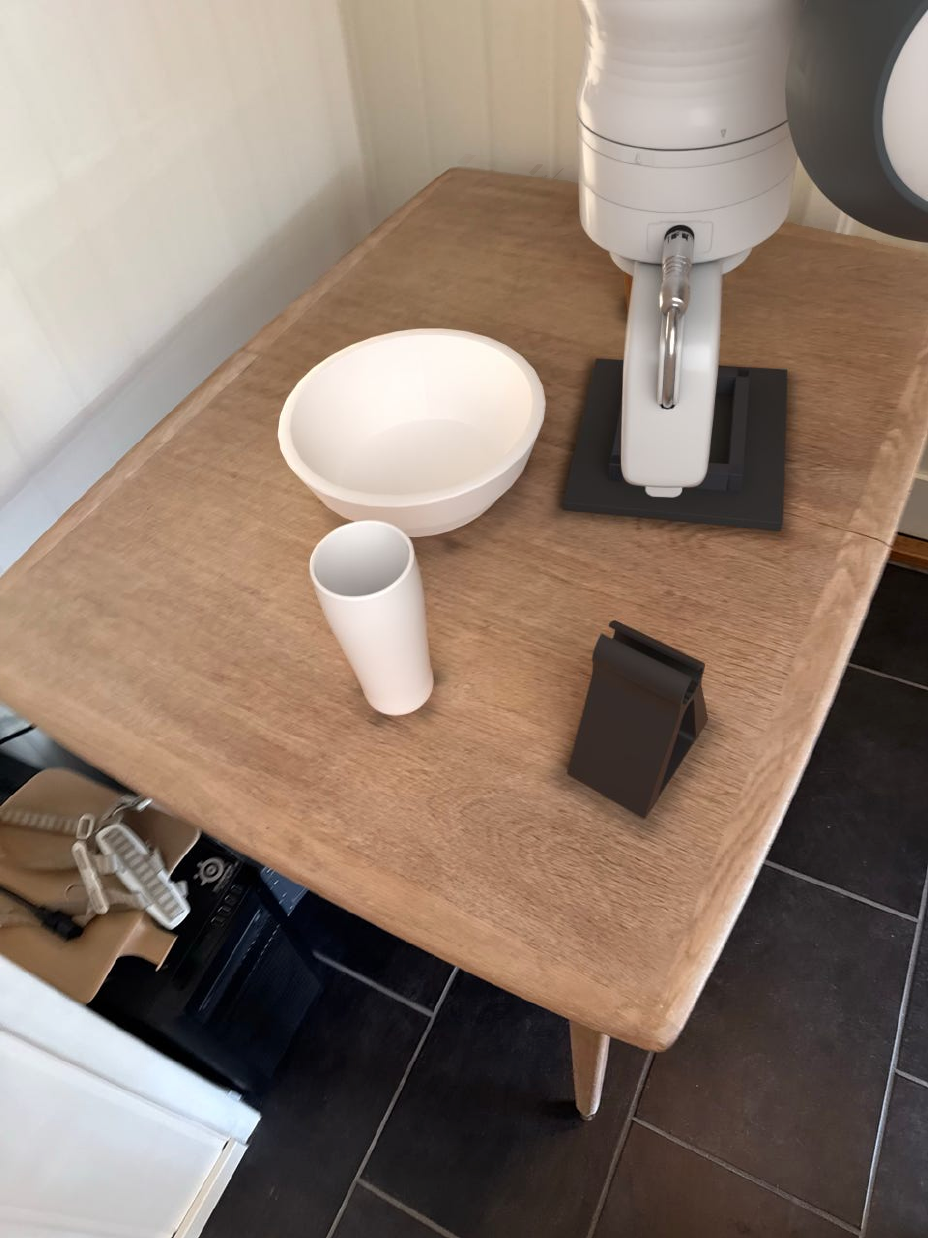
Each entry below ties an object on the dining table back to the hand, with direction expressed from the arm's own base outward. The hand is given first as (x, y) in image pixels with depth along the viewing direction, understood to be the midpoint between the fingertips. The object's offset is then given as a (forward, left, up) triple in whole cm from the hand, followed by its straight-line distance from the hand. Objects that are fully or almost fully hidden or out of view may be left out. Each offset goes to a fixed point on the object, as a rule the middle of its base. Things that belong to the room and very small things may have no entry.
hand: (668, 424), depth 48 cm
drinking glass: (+18, +5, -23) cm, 29 cm away
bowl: (+22, -17, -23) cm, 35 cm away
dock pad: (0, -25, -23) cm, 33 cm away
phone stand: (0, +7, -23) cm, 24 cm away
